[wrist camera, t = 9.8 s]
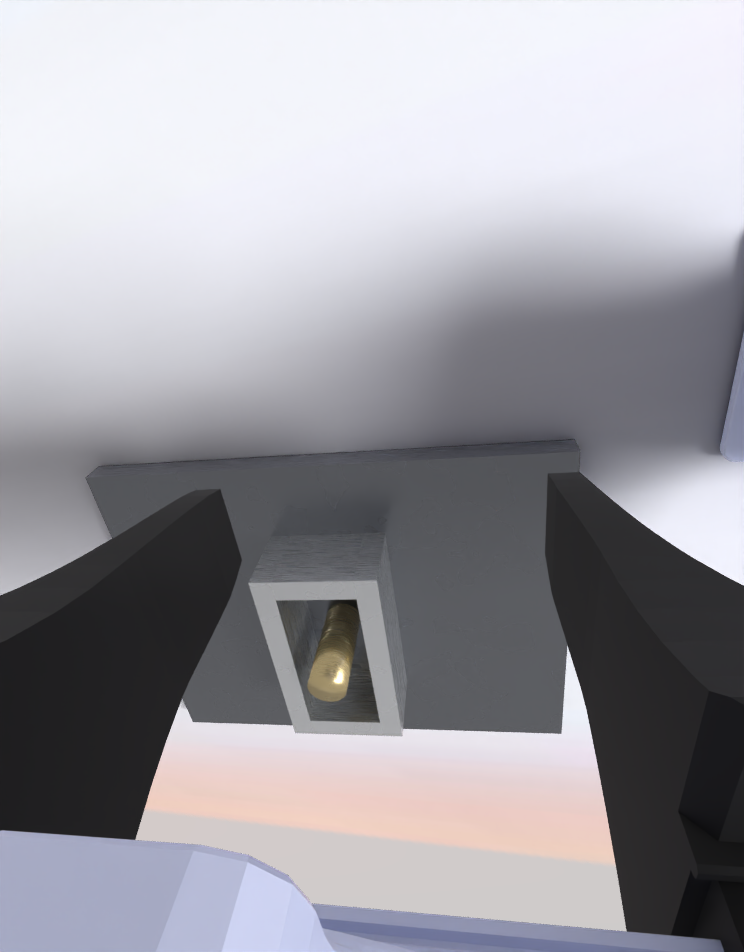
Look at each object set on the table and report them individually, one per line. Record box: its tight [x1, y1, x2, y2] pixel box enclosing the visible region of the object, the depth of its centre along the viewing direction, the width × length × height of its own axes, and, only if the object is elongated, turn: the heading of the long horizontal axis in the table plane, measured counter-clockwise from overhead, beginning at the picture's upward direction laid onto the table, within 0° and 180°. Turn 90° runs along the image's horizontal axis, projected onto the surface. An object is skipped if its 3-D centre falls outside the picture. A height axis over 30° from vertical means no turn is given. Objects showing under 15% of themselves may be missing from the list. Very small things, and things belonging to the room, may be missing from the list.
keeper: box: [86, 439, 580, 734], centre depth 24 cm, size 20×16×5 cm
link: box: [248, 533, 407, 736], centre depth 24 cm, size 9×5×3 cm, turn 7°
